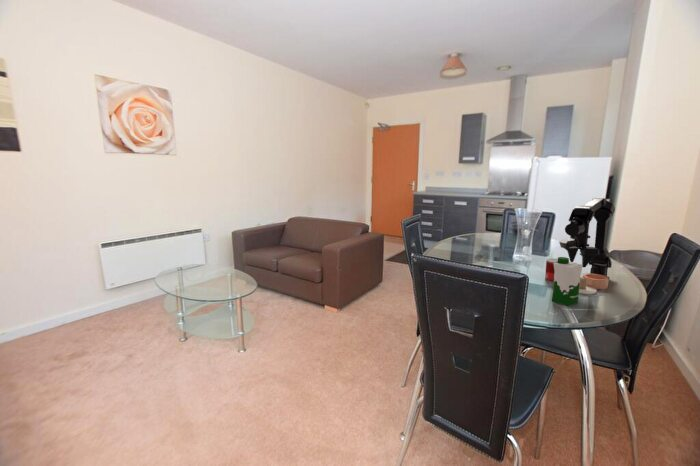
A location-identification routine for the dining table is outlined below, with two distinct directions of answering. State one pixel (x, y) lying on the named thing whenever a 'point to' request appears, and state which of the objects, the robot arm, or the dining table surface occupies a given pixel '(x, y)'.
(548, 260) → the canned food
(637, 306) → the dining table surface
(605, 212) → the robot arm
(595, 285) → the bowl
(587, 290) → the lid
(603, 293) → the mat
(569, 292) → the milk carton
